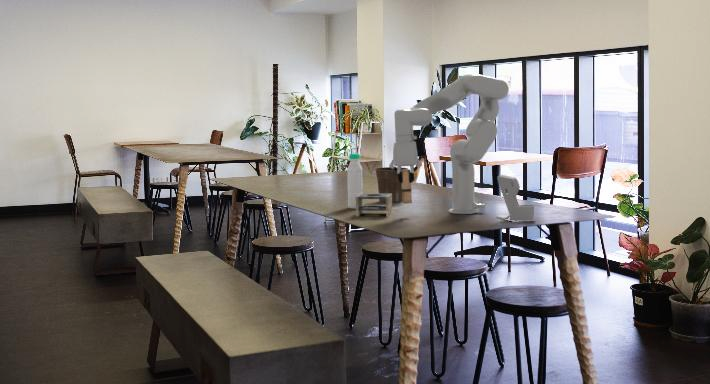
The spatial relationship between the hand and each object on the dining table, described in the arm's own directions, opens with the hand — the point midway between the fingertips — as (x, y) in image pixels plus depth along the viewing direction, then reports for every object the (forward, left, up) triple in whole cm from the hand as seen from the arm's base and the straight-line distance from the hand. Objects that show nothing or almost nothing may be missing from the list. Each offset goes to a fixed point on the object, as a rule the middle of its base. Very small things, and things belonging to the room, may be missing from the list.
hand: (406, 182), depth 353 cm
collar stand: (+15, -6, -15) cm, 22 cm away
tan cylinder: (0, 0, -9) cm, 9 cm away
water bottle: (+27, -28, -15) cm, 41 cm away
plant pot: (+13, -52, -15) cm, 55 cm away
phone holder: (-45, +6, -15) cm, 48 cm away
